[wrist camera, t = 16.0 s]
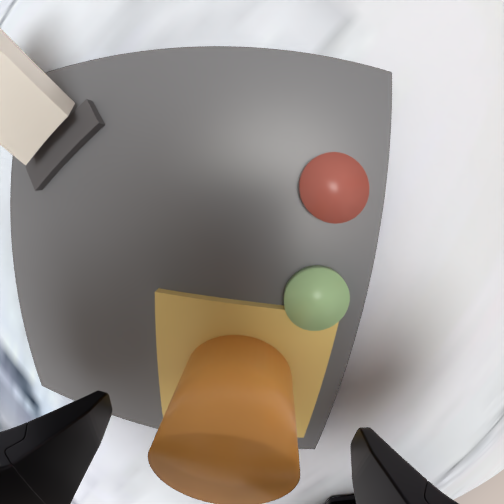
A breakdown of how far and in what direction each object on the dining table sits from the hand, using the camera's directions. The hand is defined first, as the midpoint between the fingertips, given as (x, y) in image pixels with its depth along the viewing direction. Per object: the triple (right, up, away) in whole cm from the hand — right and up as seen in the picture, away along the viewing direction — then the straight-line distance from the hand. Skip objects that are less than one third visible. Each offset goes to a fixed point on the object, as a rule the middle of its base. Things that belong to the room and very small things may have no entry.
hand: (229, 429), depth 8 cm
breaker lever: (-7, +10, +1) cm, 13 cm away
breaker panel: (-3, +5, +3) cm, 7 cm away
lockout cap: (0, +1, +3) cm, 3 cm away
